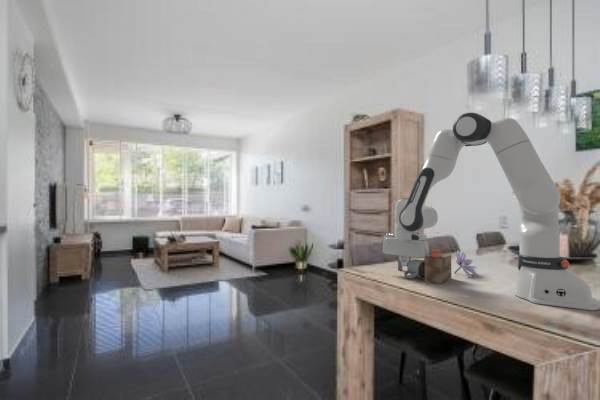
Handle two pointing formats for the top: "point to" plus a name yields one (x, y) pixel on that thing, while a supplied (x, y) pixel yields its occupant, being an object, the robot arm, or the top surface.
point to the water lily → (465, 264)
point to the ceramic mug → (415, 269)
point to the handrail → (400, 264)
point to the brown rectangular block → (437, 269)
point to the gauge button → (435, 253)
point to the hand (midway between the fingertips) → (405, 265)
